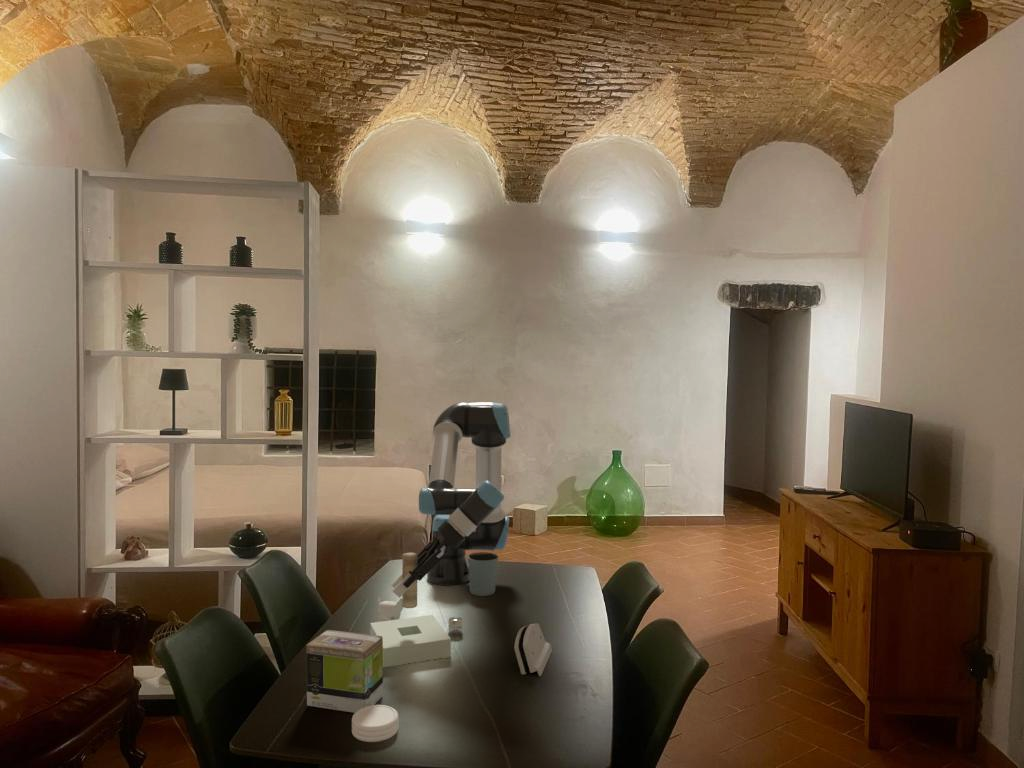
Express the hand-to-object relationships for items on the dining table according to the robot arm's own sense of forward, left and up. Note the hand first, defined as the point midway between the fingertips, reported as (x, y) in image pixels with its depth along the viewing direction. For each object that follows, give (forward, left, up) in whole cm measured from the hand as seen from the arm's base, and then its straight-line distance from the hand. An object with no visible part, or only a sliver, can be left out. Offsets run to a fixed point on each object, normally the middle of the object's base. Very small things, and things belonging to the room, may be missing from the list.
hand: (395, 591), depth 199 cm
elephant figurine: (-21, +3, -17) cm, 27 cm away
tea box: (+23, -17, -17) cm, 33 cm away
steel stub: (-6, +19, -16) cm, 26 cm away
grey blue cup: (-36, +38, -17) cm, 55 cm away
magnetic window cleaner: (+19, +32, -17) cm, 41 cm away
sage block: (0, +4, -16) cm, 17 cm away
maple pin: (+1, +4, -4) cm, 6 cm away
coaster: (+38, -13, -17) cm, 44 cm away
